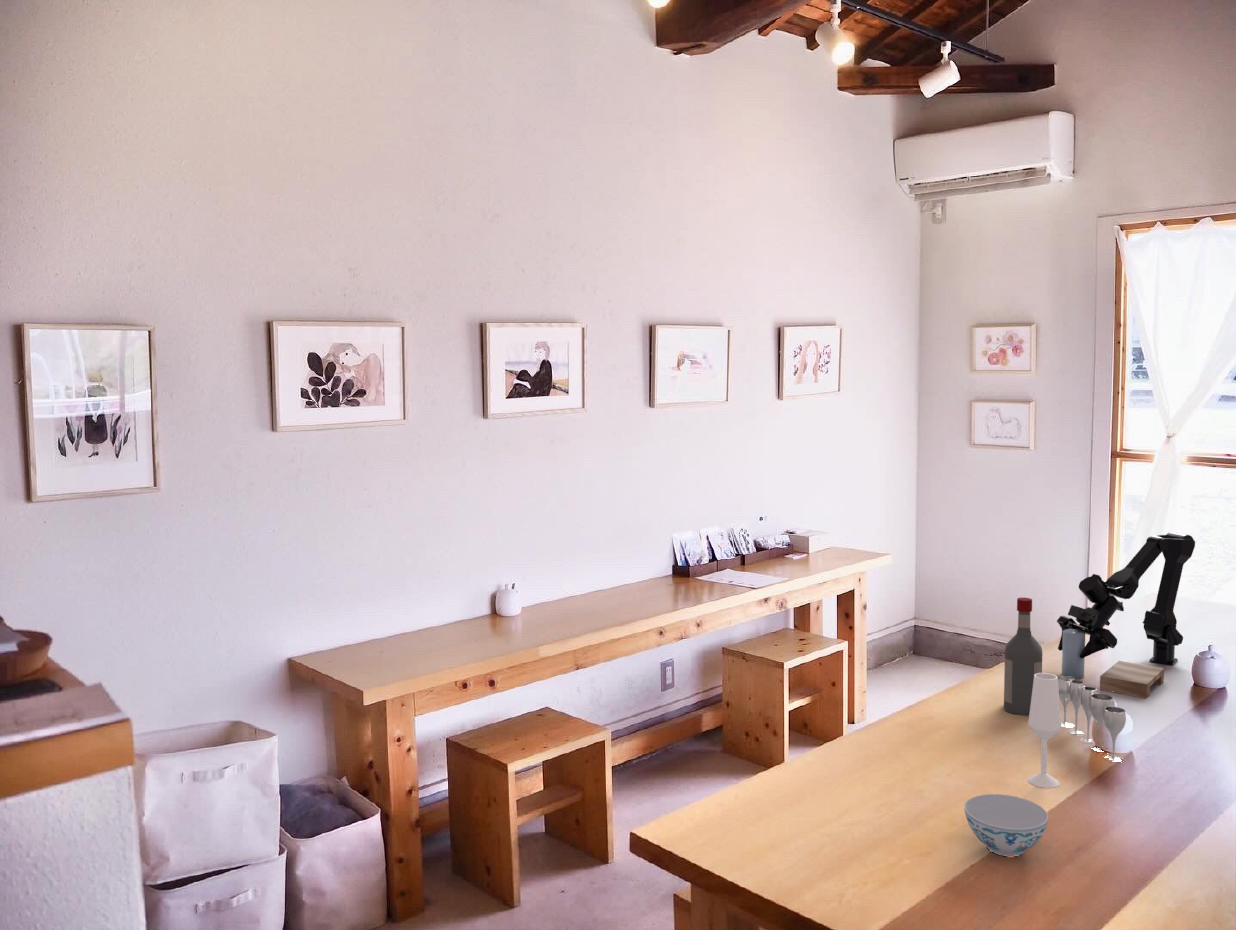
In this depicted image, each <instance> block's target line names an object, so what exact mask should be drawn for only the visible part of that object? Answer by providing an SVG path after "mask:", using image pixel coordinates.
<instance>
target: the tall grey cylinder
mask: <svg viewBox="0 0 1236 930" xmlns="http://www.w3.org/2000/svg"><path fill="white" fill-rule="evenodd" d="M1085 646H1086V634H1085V632H1084V631H1081V630H1076V629H1066V630H1063V644H1062V650H1061V655H1062V656H1061V676H1069V677H1073V678H1075V679H1083V678H1084V677H1085V664H1086V663H1085V659H1086V657H1084V658H1080V657H1079V655H1080V654H1081V652H1082V650H1083V649H1084V647H1085Z"/></svg>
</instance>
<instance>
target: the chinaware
mask: <svg viewBox="0 0 1236 930" xmlns="http://www.w3.org/2000/svg"><path fill="white" fill-rule="evenodd" d="M964 813H965V818H966V820H967V823H968V826H969V828H970V829H971V831H972V833H973V834H974V836H976V838H977V839H978V840H979V841H980V842H981V843H983V844H984V845H985V847H986V846H987V847H986V849H987V848H988V849H989V850H991V851H992V852H994V853H996V854H1000V855H1007V856H1014V855H1021V854H1022V853H1023V852H1025V851H1027V850H1028V849H1031V848H1032V847H1033V846H1034V845H1036V844H1037V843H1038V842H1039V841H1040V839H1042V838H1043V835H1044V833H1045V831H1046V829H1047V825H1048V822H1049V814H1048V812H1047V810H1045V809H1044V808H1043V807H1042V806H1041V805H1039V804H1038V803H1035V802H1034V801H1031V800H1028V799H1025V798H1023V797H1019V796H1013V795H1009V794H998V793H995V794H993V793H991V794H990V793H989V794H987V793H986V794H980V795H976V796H973V797H970V798H969V799H967V801H965V803H964ZM988 849H987V850H988ZM989 850H988V851H989ZM1023 854H1024V853H1023ZM1023 854H1022V855H1023ZM1022 855H1021V856H1022Z"/></svg>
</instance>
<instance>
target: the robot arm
mask: <svg viewBox="0 0 1236 930" xmlns="http://www.w3.org/2000/svg"><path fill="white" fill-rule="evenodd" d="M1195 547H1196V541H1195V539H1194V537H1193V536H1192V535H1190V534H1185V533H1179V532H1174V531H1169V532H1167V533H1166V534H1158V535H1150V536H1148V537H1147V539H1146V541H1145V543H1144V545H1142V547H1141V548H1140V549H1139V550H1138V551H1137V552H1136V554H1134V556H1133V557H1132V559H1130V561H1129V562H1128V563H1127V564H1126V566H1125V567H1123V568H1122V569H1120V570H1118V571H1116V572H1114V573H1113V574H1112V575H1110V576H1109V577H1108V578H1107V579H1106V580H1103V579H1102V577H1101V576H1100V575H1099V574H1096V573H1092V575H1091V576H1088V577H1085V578H1084V579H1082V580H1080V582H1079V584H1078V589H1079V591H1080V592H1081V593H1082V594H1083V595H1084V596H1085V597H1086V599H1087V600H1088V601H1089V602H1090V603H1093V605H1092V606H1091V607H1090V606H1087V607H1086V608H1083V607H1080V606H1076V605H1073V604H1070V607H1069V611H1068V613H1067V615H1066V616H1065V615H1059V617H1058V619H1056V623H1057V624H1058V625H1059V627H1060V628H1061V636H1060V639H1059V642H1058V647H1057V649H1058V651H1060V652H1062V644H1063V630H1066V629H1076V630H1081V631H1084V632H1085V635H1087V636H1089V640H1088V642H1087V643H1086V644H1085V647H1084V649H1083V650H1082V652H1081V654H1080V655H1079V657H1080V658H1084V657H1085V658H1086V657H1088V656H1091V655H1094V654H1095V653H1098V652H1101V651H1103V650H1105V649H1106V650H1107V649H1109V648H1111V649H1115V647H1116V646H1117V644H1118V638H1117V637H1116V636H1115V635H1114V634H1113V632H1111V630H1110V629H1108V628H1104V627H1105V626H1108V627H1109V626H1110V625H1111V622H1110V621H1109V620H1110V619H1111V618H1112V617H1113V615H1114V614H1115V612H1116V611H1119V612H1124V611H1125V609H1124V603H1123V601H1120V600H1119V599H1123V600H1129V599H1131V598H1133V596H1134V595H1135V593H1136V592H1137V591H1138V590H1137V589H1138V588H1139V581H1140V579H1141V577H1143V575H1144V574H1145V573H1146V571H1147V570H1148V569H1149V568H1150V567H1151V566H1152V564H1154V562H1155V561H1156V559H1157V558H1159V556H1160V555H1161V554H1162V555H1163V558H1164V563H1163V570H1162V574H1161V578H1160V583H1159V586H1158V591H1157V596H1156V600H1155V605H1154V607H1152V609H1151V610H1146V611H1145V613H1144V618H1143V621H1142V624H1143V631H1145V636H1146V639H1148V640H1152V641H1153V647H1152V648H1153V649H1152V651H1153V652H1152V657H1151V658H1150V659H1149V660H1148V661H1149V662H1150V661H1151V663H1158V664H1164V665H1171V666H1173V665H1175V663H1177V662H1178V658H1175V655H1176V654H1175V652H1176V651H1175V648H1176V646H1180V645H1181V644H1182V643H1183V640H1184V636H1183V635H1182V634H1181V633H1180V632H1179V630H1178V629H1177V623H1178V621H1177V617H1176V615H1175V613H1174V612H1175V611H1174V609H1175V605H1176V604H1175V603H1176V600H1177V596H1178V591H1179V586H1180V582H1181V578H1182V574H1183V573H1182V572H1183V569H1184V565H1185V563H1187V562H1188V561H1189V559H1190V558H1191V557H1192V555H1193V554H1194V553H1193V552H1194V550H1195ZM1117 598H1119V599H1117ZM1069 616H1071V617H1069ZM1072 617H1073V618H1075V620H1074V619H1073V618H1072Z"/></svg>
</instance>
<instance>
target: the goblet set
mask: <svg viewBox="0 0 1236 930" xmlns="http://www.w3.org/2000/svg"><path fill="white" fill-rule="evenodd" d="M1057 677H1058V689H1059V700H1060V701H1061V703H1062V704H1063V714H1064V716H1063V720H1061V728H1067V729H1069V728H1071V729H1069V730H1067V733H1068V734H1070V735H1073V734H1084V733H1085V732H1084V731H1083V730H1080V729H1078V715H1079V709H1080V707H1082V709H1083V711H1084V713H1085V716H1086V724H1087V732H1086V733H1087V737H1081V739H1080V738H1079V739H1080V740H1085V741H1087V742H1091V741H1092V739H1093V738H1091V737H1090V723H1091V718H1093V719H1094V721H1095V723H1096V724H1097V727H1098V728H1099V727H1100V725H1101V723H1103V720H1104V724H1105V725H1104V727H1105V728H1106V730H1107V731H1108V732H1109V735H1110V737H1111V743H1112V755H1113V756H1109V754H1107V756H1106V755H1104V756H1105V757H1104V756H1103V757H1104V758H1109V760H1112V762H1111V763H1113V762H1121V761H1122V760H1121V759H1120V758H1122V757H1121V756H1118V755H1115V751H1116V750H1115V748H1116V742H1117V741H1116V740H1117V738H1118V735H1119V734H1121V732H1122V730H1124V728H1125V725H1126V721H1127V716H1126V715H1127V713H1126V710H1125V709H1123V708H1121V707H1117V706H1115V705H1114V697H1113V696H1111V695H1109V694H1107V693H1106V694H1104V693H1098V691H1097V688H1096V687H1093V686H1089V685H1087V686H1086V685H1085V682H1084V681H1082V680H1081V679H1080V680H1079V679H1077V678H1073V677H1069V676H1063V675H1058V676H1057ZM1070 701H1071V702H1072V704H1073V707H1074V715H1075V716H1074V717H1075V724H1074V723H1073V722H1071V721H1066V720H1067V719H1066V718H1067V717H1066V716H1067V707H1068V704H1069V703H1070ZM1072 728H1075V729H1072ZM1079 730H1080V731H1079ZM1082 731H1083V732H1084V733H1083V732H1082ZM1084 735H1085V734H1084ZM1090 738H1091V739H1090ZM1091 749H1093V750H1094V751H1097V752H1104V751H1102V750H1101V748H1098V747H1097V748H1096V747H1094V748H1091ZM1117 756H1118V757H1117ZM1121 763H1122V762H1121Z"/></svg>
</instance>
